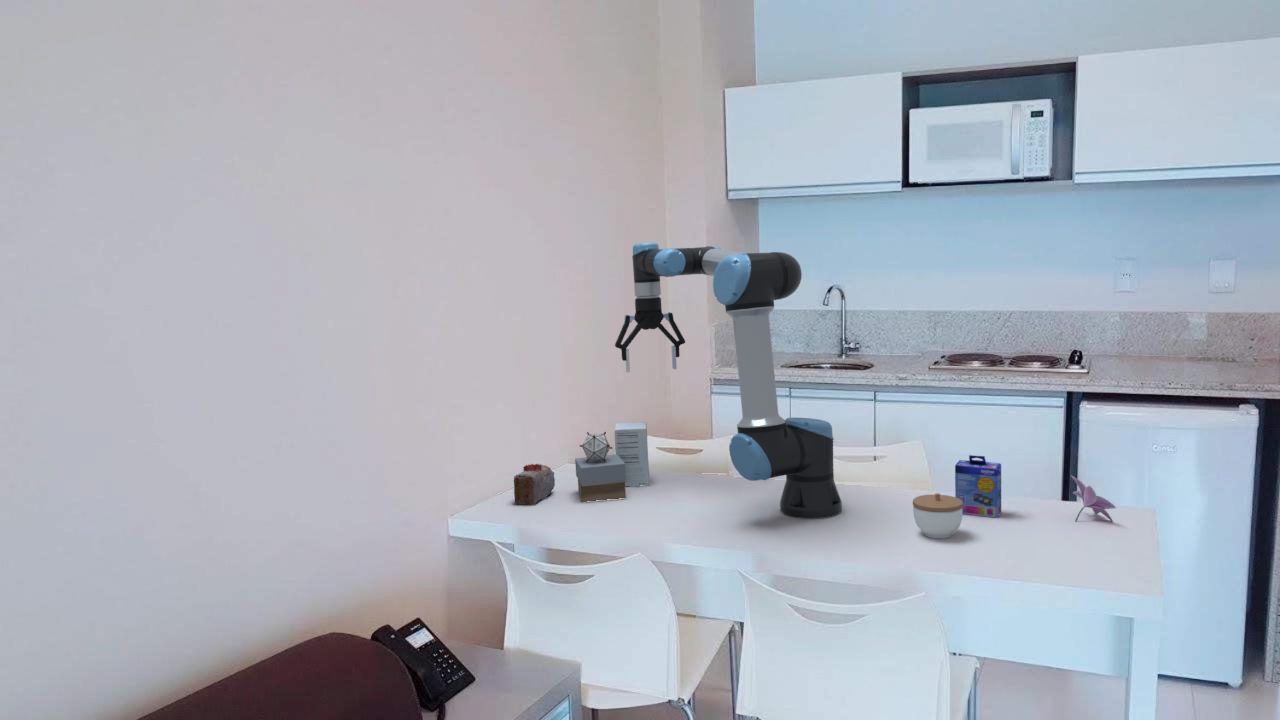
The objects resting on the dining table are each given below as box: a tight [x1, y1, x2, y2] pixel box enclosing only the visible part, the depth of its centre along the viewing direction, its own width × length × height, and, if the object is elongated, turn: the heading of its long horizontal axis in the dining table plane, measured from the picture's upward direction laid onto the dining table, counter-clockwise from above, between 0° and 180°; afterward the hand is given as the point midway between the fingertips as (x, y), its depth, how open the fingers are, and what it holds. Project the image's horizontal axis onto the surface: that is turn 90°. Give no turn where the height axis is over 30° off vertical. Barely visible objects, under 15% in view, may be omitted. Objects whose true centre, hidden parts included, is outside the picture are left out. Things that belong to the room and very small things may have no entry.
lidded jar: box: [912, 492, 963, 539], centre depth 204 cm, size 11×11×9 cm
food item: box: [513, 463, 556, 506], centre depth 251 cm, size 14×8×10 cm, turn 164°
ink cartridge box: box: [954, 454, 1003, 519], centre depth 218 cm, size 10×6×14 cm, turn 59°
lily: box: [1070, 474, 1117, 522], centre depth 209 cm, size 12×12×10 cm
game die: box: [579, 431, 613, 463], centre depth 249 cm, size 9×8×10 cm
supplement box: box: [614, 421, 650, 487], centre depth 262 cm, size 10×9×17 cm
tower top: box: [574, 453, 626, 486], centre depth 250 cm, size 12×12×5 cm
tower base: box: [577, 479, 627, 503], centre depth 251 cm, size 12×12×5 cm
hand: (651, 370), depth 264 cm, fingers open, 13 cm apart
